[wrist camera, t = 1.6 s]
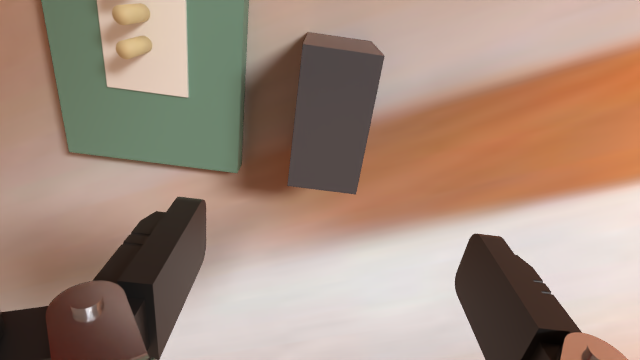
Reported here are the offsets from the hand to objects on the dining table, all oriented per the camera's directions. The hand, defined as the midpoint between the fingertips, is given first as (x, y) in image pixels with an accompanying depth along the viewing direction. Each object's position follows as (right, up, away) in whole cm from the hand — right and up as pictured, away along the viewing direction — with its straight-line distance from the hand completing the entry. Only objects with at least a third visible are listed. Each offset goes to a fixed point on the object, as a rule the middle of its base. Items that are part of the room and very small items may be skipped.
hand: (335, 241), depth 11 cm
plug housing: (0, +8, +15) cm, 17 cm away
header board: (-11, +13, +13) cm, 21 cm away
